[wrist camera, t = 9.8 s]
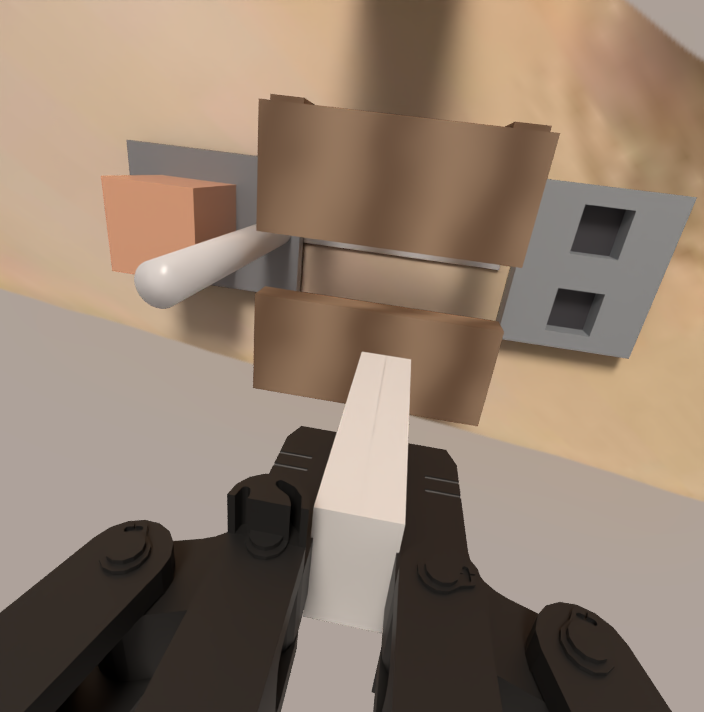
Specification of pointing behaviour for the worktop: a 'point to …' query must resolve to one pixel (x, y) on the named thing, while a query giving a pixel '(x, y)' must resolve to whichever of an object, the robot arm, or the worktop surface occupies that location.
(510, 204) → the wooden rack
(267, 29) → the worktop surface
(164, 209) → the white lever handle
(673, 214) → the pit plate
